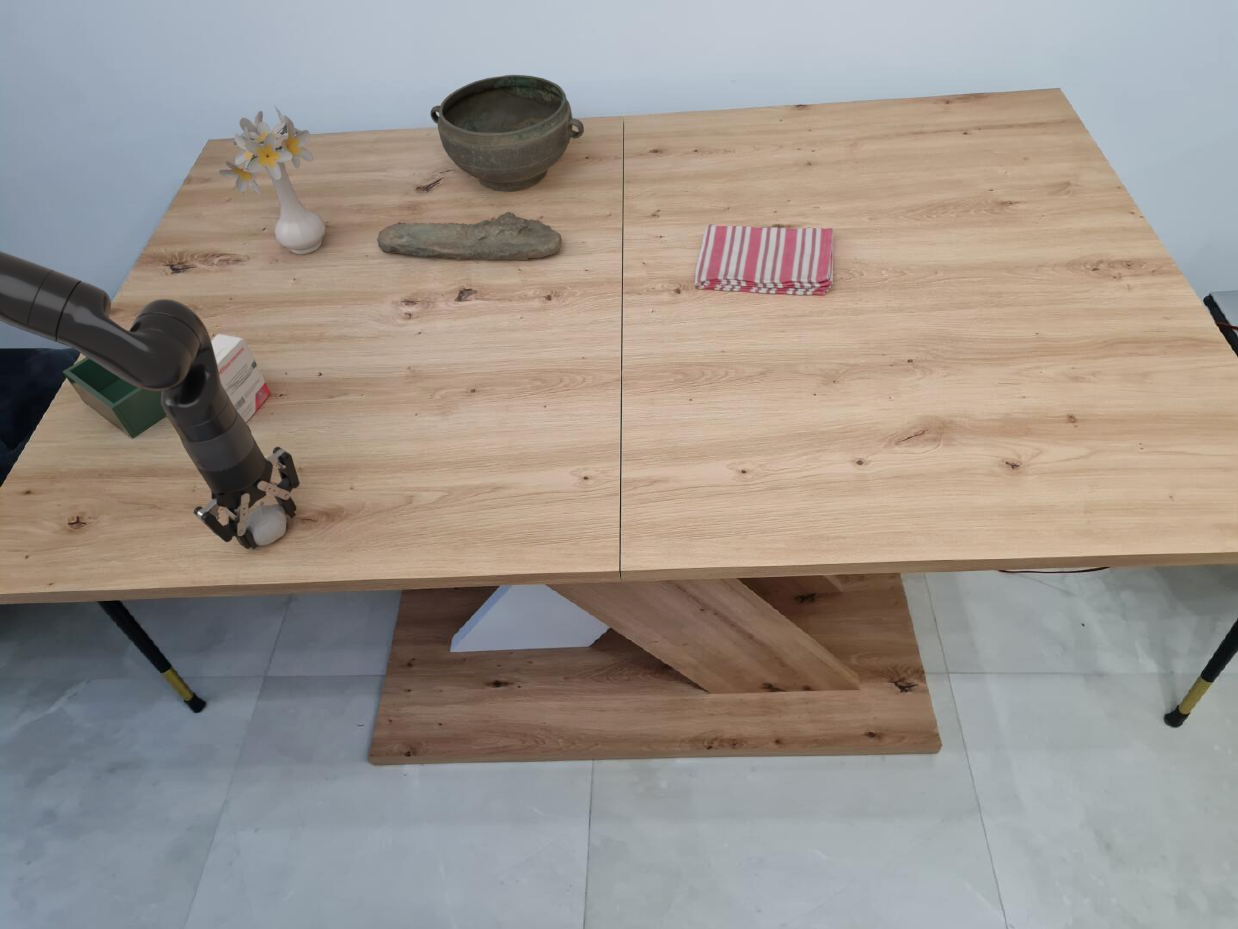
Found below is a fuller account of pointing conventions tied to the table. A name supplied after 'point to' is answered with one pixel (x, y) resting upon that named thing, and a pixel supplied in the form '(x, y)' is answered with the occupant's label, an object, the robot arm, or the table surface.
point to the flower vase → (278, 178)
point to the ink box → (239, 374)
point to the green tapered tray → (115, 397)
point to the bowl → (506, 129)
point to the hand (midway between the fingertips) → (270, 529)
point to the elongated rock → (473, 239)
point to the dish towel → (766, 260)
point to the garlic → (266, 523)
